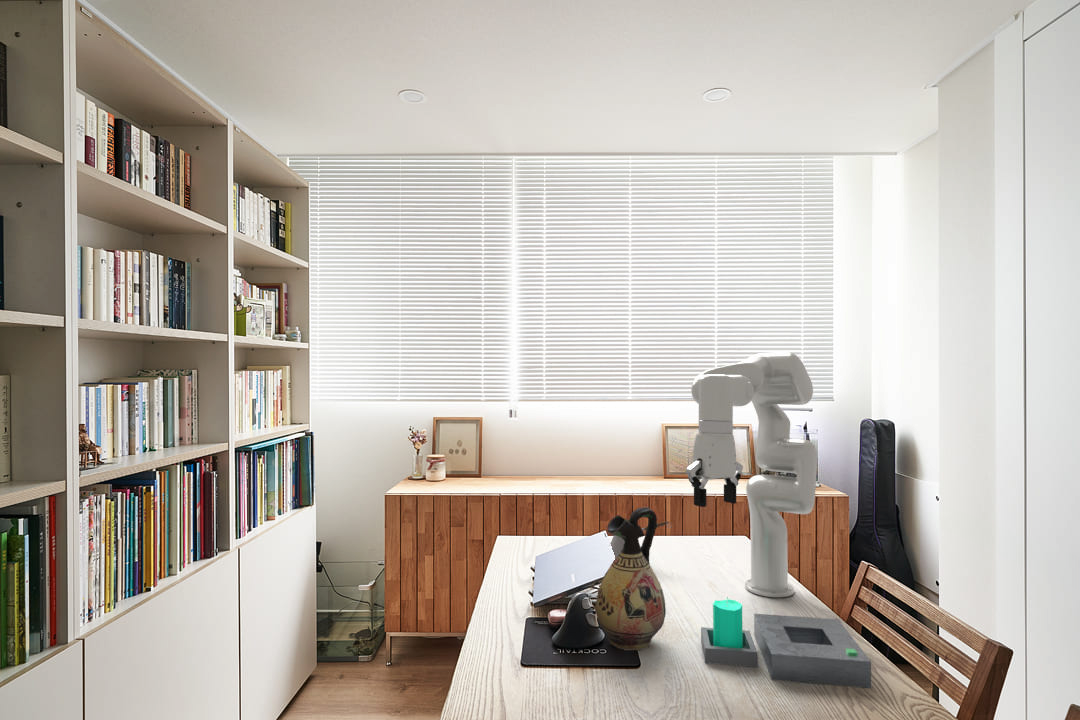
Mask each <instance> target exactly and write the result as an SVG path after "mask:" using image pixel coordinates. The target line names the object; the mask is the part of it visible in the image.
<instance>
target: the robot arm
mask: <svg viewBox="0 0 1080 720" xmlns="http://www.w3.org/2000/svg"><path fill="white" fill-rule="evenodd" d="M813 395H814V386H813V382H812V379H811V377H810V374H809V373H808V371H807V369H806V366H805V365H804V363H803V362H802V360H801V358H800V357H799V356H798V355H796V354H795V353H793V352H761V353H756V354H755V353H754V354H752V355H750V356H749V357H748V358H745V359H744V360H742V361H740V362H736V363H732V364H731V363H730V364H728V365H723V366H719V367H714V368H711V369H708V370H704V371H702V372H701V373H699V374H697V376H696V377H695V378H694V380H693V382H692V384H691V396H692V398H693V400H694V401H695V402H696V404H698V433H696V435H695V439H694V443H693V449H692V451H693V452H692V462H691V463H692V464H690V465H689V466H687V468H686V469H685V473H686V474H687V477H688V481H689V482H690V483H691V487H692V488H693V505H694V506H696V507H697V506H698V507H701V508H706V507H707V488H705V487H706V485H707V483H708V481H709V480H711V481H712V480H723V481H724V482H725V483H724V484H723V502H725V503H727V504H728V503H729V504H737V486H738V485H739V481H740V479H741V478H742V472H743V470H744V465H742V464H741V463H739V462H738V461H737V449H736V443H735V436H734V434H733V433H734V431H733V429H734V424H733V423H734V421H733V418H734V417H733V416H734V412H733V411H734V407H744V406H747V405H748V404H749V403H750V402H751V403H752V404H753V405H752V406H753V407H754V410H755V413H756V415H757V419H758V420H757V421H758V427H757V440H756V449H755V451H756V452H755V462H756V465H757V466H758V467H759V468H760V469H761V470H764V471H770V472H778V473H779V472H780V473H787V474H789V473H791V474H795V475H796V477H791V476H784V475H783V476H782V475H775V474H774V475H772V474H755V475H753V476H751V477H750V478H749V479H748V480H747V483H746V488H745V489H746V498H747V503H748V509H749V519H750V521H749V523H750V524H749V525H750V578H749V579H748V580H746V581H745V589H746V590H747V591H749V592H750V593H752V594H755V595H757V596H762V597H767V598H787V597H790V596H792V595H794V593H795V588H794V586H793V585H792V584H790V583H789V579H788V578H789V577H788V576H789V575H788V574H789V571H788V570H789V569H788V567H789V566H788V527H787V523H786V521H785V520H784V518H783V517H782V515H781V514H780V513H782V512H783V513H790V514H795V515H796V514H797V515H808V514H810V513H811V512H812V511H813V509H814V508H815V507H814V506H815V503H816V502H815V500H816V486H817V474H818V473H817V470H818V453H817V449H816V446H815V444H814V443H813V442H812V441H810V440H808V439H804V438H792V437H791V435H790V434H791V420H790V418H789V417H788V415H787V414H786V413H785V412H784V410H783V409H782V408H781V407H780V406H779V405H785V406H786V405H789V406H790V405H793V406H795V405H796V406H800V405H803V406H804V405H806V404H809V403H810V401H811V400H812V398H813ZM790 437H791V438H790Z"/></svg>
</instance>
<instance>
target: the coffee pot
mask: <svg viewBox="0 0 1080 720" xmlns="http://www.w3.org/2000/svg"><path fill="white" fill-rule="evenodd" d="M624 519H625V520H627V521H629V519H630V518H629V519H627V518H624ZM664 525H666V527H667V528H668V529H671V528H672V525H671V522H669V521H668V520H666V521H664V522H662V521H660V522H659V523H658V522H657V527H656V529H657V528H660V527H663V526H664ZM641 529H642V531H643V532H644V531H646V530H647V526H645V527H643V528H641ZM624 543H625V541H624V540H623V539H622V538H620V537H618V536H615V535H613V537H612V539H611V541H610V543H609V545H610V544H611V545H612V550H613V552H614V555H615V559H616V557H617V556H618V555H619V554H620V552H621V550H622V549H623V545H624ZM639 545H640V548H641V546H642V545H641V544H640V543H639Z"/></svg>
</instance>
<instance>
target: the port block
mask: <svg viewBox="0 0 1080 720" xmlns="http://www.w3.org/2000/svg"><path fill="white" fill-rule="evenodd" d="M753 621H754V622H753V629H754V631H753V633H754V635H753V636H754V639H755V640H756V644H757V646H758V649H759V651H760V653H761V656H762V658H763V661H764V663H765V664H764V665H765V666H766V669H767V671H768V674H769V676H770V678H771V680H772V681H783V682H794V683H808V684H818V685H828V686H829V685H830V686H840V687H852V688H862V689H863V688H864V689H865V688H867V689H872V661H871V660H870V659H869V657H868V656H867V654H866V653H865V652H864V651H863V649H862V648H861V647H860V645H859V644H858V642H857V641H856V640H855V639H854V638H853V636H852V634H850V632H849V631H848V629H847V628H846V627H845V626H844V624H843V623H842V622H841V621H840V619H839V618H827V617H825V618H824V617H810V616H799V615H797V616H794V615H783V614H781V615H780V614H767V613H765V614H764V613H753Z"/></svg>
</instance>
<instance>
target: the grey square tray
mask: <svg viewBox="0 0 1080 720" xmlns="http://www.w3.org/2000/svg"><path fill="white" fill-rule="evenodd" d="M700 642H701V643H700V644H701V648H702V652H703V659H704V663H706V664H717V665H730V666H738V667H740V666H742V667H754V668H758V666H759V665H758V664H759V662H758V661H759V660H758V659H759V657H758V656H759V655H758V653H759V652H758V650H757V647H756V645H755V641H754V638H753V636H752V634H751V632H750V630H745V629H743V648H730V647H717V646H713V627H703V626H701V627H700Z"/></svg>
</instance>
